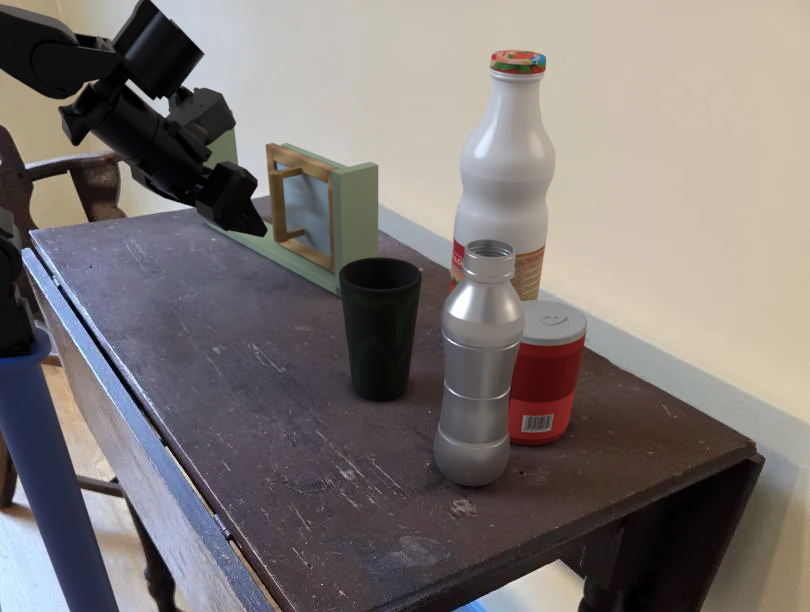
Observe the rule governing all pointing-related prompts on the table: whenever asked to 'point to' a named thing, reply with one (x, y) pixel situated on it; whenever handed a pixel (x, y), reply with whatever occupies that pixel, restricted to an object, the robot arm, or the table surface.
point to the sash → (301, 204)
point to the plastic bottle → (479, 365)
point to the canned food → (545, 372)
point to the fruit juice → (508, 172)
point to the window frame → (350, 216)
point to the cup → (380, 324)
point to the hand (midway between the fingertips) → (242, 222)
